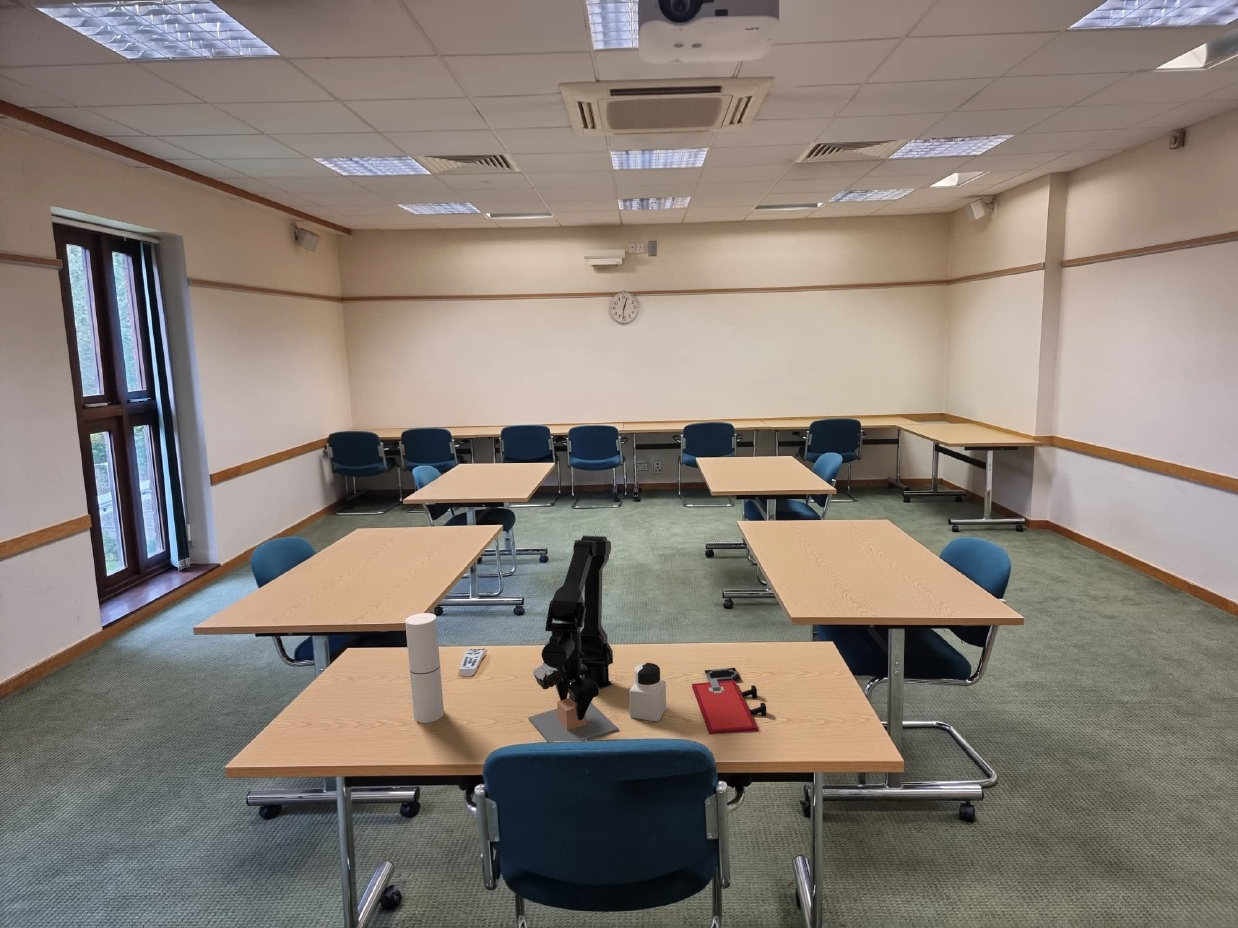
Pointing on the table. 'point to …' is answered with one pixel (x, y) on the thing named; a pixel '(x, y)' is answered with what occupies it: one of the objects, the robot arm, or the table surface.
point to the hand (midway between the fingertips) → (571, 710)
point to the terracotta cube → (569, 714)
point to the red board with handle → (726, 703)
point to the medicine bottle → (647, 693)
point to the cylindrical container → (424, 667)
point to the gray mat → (556, 732)
